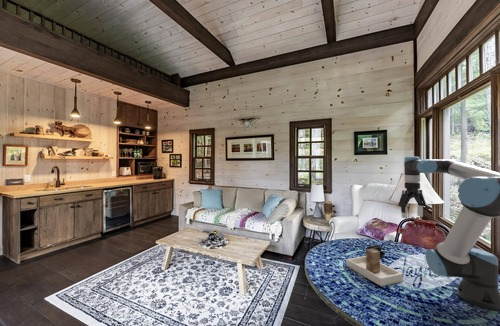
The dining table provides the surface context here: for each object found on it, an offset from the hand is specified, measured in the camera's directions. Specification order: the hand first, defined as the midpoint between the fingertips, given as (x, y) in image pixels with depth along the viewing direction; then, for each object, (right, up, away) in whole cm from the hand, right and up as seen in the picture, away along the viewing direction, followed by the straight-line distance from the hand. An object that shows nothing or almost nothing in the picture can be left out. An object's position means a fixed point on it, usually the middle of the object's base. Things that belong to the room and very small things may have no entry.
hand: (412, 217), depth 128 cm
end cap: (-11, -32, +19) cm, 39 cm away
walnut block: (-26, -31, -4) cm, 40 cm away
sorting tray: (-26, -32, -4) cm, 41 cm away
